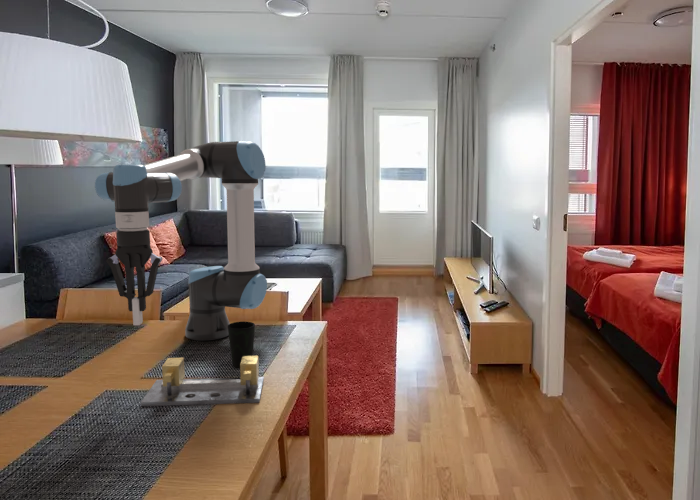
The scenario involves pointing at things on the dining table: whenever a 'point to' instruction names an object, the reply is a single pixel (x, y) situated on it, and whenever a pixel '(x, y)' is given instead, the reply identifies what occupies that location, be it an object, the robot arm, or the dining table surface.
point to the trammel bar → (247, 375)
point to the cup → (241, 341)
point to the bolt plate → (202, 395)
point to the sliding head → (173, 373)
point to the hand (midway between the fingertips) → (138, 323)
